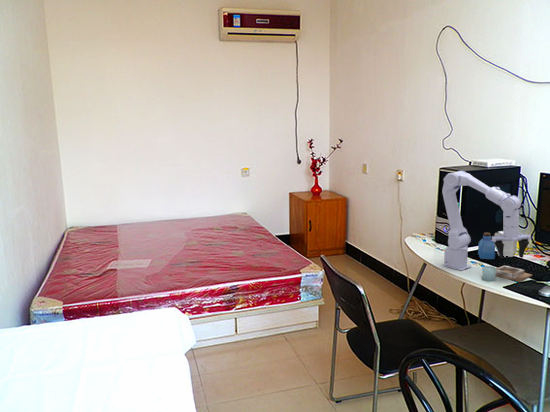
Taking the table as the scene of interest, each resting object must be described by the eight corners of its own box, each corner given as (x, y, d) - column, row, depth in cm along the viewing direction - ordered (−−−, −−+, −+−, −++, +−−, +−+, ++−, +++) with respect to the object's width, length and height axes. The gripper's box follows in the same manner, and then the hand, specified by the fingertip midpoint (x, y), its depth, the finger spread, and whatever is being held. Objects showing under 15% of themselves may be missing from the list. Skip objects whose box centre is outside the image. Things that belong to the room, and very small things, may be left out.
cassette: (517, 252, 218) (518, 237, 217) (515, 252, 217) (515, 237, 216) (495, 246, 229) (496, 232, 227) (493, 247, 228) (493, 233, 226)
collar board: (486, 273, 191) (486, 268, 191) (499, 267, 197) (499, 263, 197) (519, 282, 180) (519, 277, 179) (532, 275, 186) (532, 270, 186)
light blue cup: (479, 279, 185) (480, 268, 184) (486, 276, 188) (486, 265, 187) (491, 282, 181) (491, 271, 180) (497, 279, 184) (498, 268, 183)
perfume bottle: (480, 258, 211) (481, 234, 208) (477, 255, 217) (478, 231, 214) (494, 259, 209) (495, 235, 207) (491, 255, 215) (492, 231, 213)
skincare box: (509, 254, 215) (510, 230, 213) (513, 257, 211) (514, 233, 209) (496, 254, 216) (497, 231, 213) (500, 257, 212) (501, 233, 209)
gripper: (495, 228, 177) (496, 261, 179) (534, 226, 175) (534, 259, 177) (489, 225, 184) (490, 256, 186) (526, 223, 182) (526, 254, 184)
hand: (511, 257), depth 182 cm, fingers open, 7 cm apart
